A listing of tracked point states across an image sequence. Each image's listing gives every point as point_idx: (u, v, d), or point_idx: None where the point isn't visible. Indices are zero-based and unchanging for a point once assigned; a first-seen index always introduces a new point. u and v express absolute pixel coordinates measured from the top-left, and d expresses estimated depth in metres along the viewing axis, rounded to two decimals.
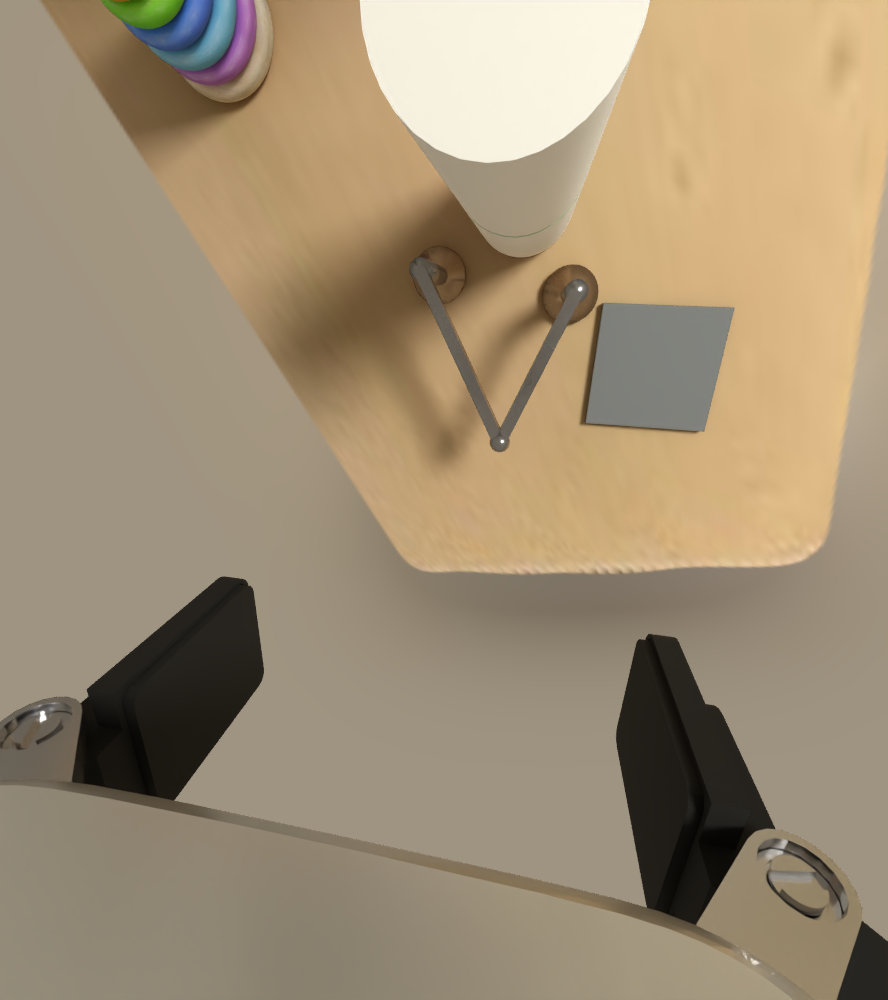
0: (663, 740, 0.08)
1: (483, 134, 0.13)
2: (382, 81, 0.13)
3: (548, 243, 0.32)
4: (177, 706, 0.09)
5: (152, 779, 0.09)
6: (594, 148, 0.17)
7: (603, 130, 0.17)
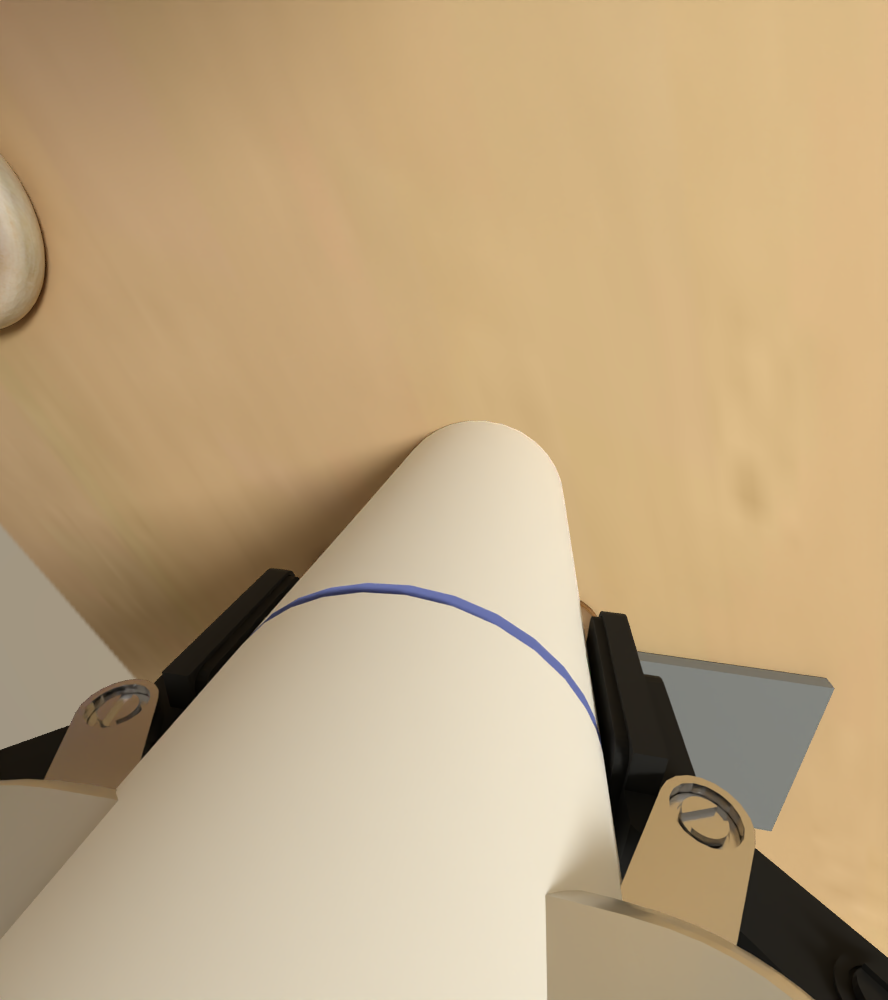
0: (603, 703, 0.09)
1: None
2: None
3: None
4: None
5: None
6: None
7: None
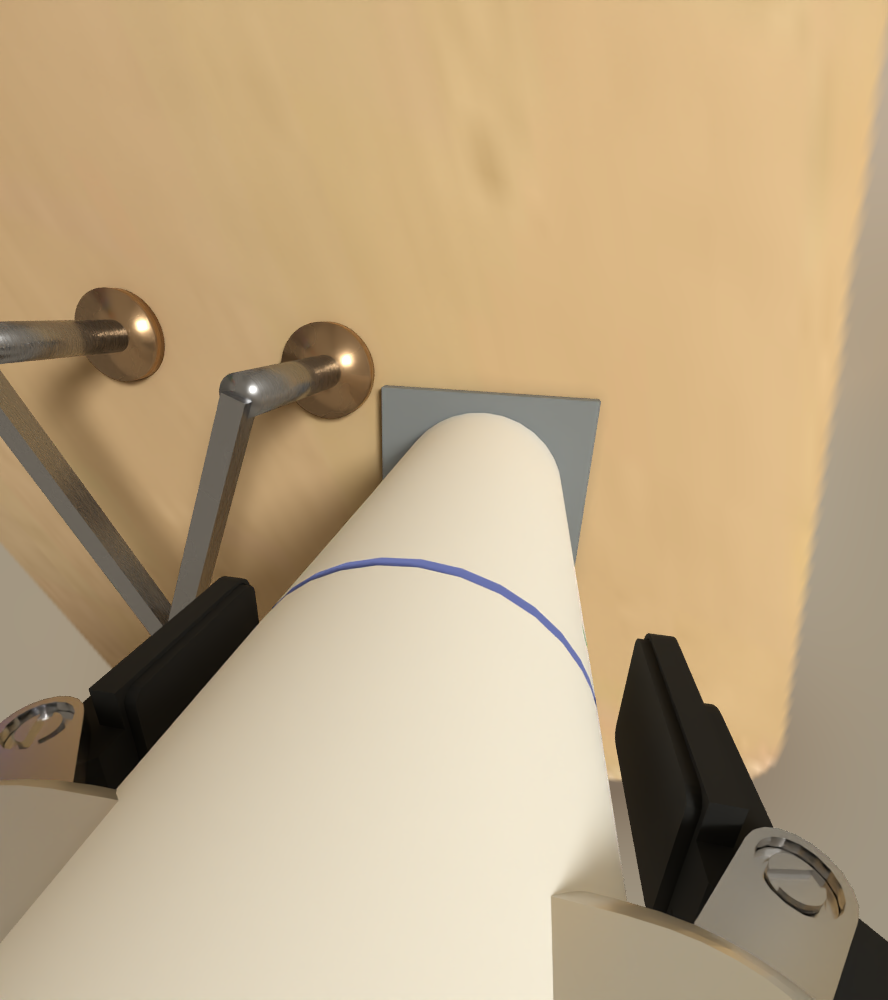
0: (661, 739, 0.08)
1: None
2: None
3: None
4: (179, 705, 0.09)
5: None
6: None
7: None
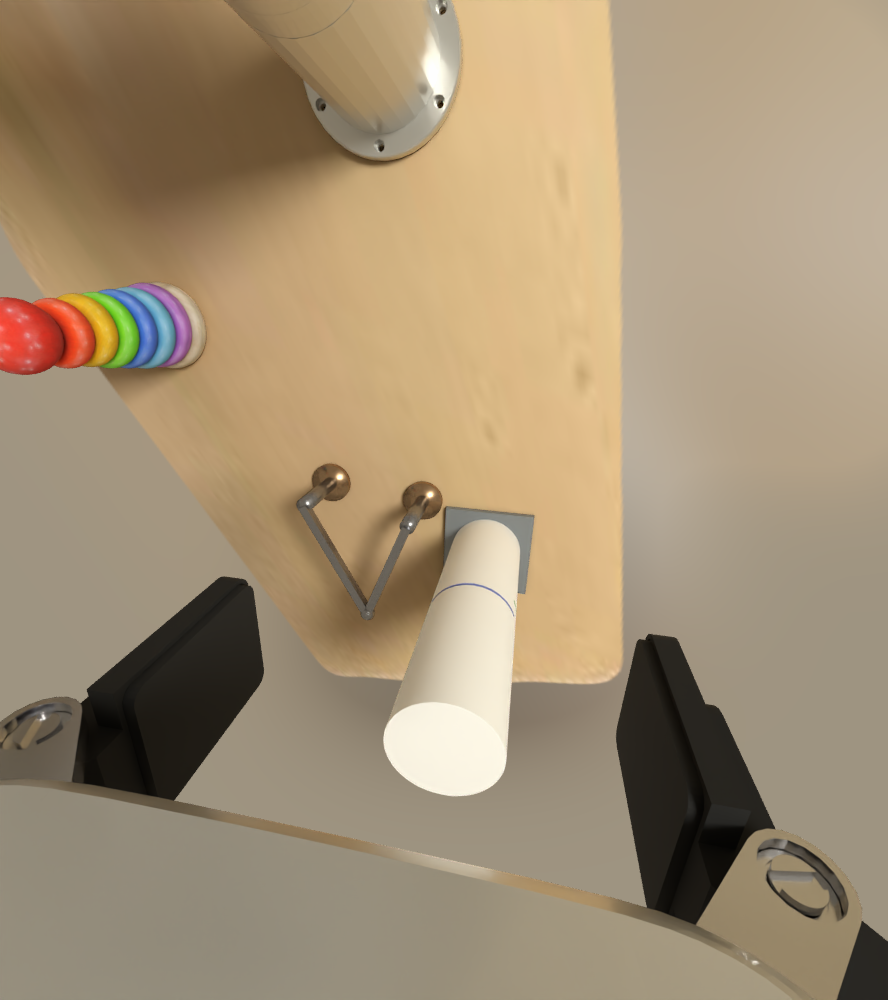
0: (663, 740, 0.08)
1: (438, 786, 0.28)
2: (393, 764, 0.28)
3: None
4: (177, 706, 0.09)
5: (152, 779, 0.09)
6: None
7: None
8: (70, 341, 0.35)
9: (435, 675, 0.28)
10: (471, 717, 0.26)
